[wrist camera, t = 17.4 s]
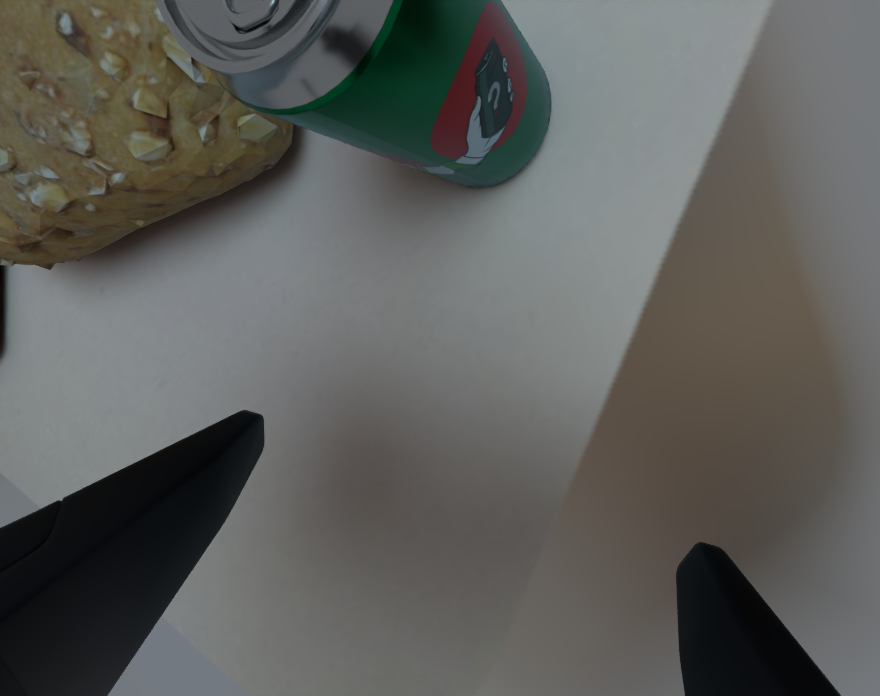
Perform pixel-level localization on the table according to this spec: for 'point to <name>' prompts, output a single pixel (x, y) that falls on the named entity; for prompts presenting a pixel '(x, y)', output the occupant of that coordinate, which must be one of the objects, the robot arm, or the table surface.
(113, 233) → the bread
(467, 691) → the table surface
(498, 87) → the soda can
